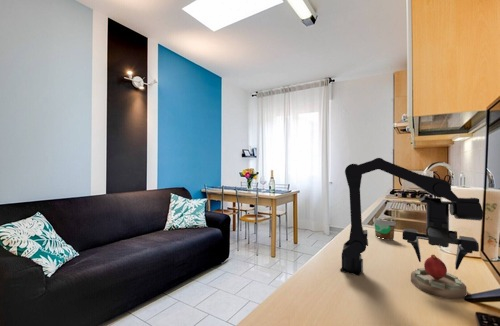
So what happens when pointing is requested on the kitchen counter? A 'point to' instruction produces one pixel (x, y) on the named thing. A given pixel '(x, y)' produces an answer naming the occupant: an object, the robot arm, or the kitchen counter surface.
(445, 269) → the pomegranate
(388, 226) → the food container
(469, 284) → the kitchen counter surface
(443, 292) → the display stand
